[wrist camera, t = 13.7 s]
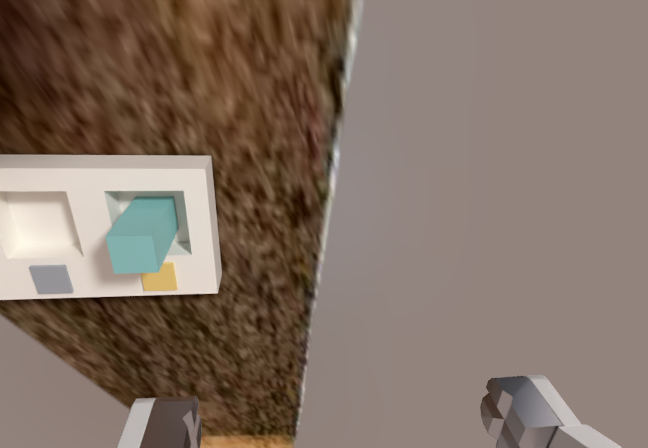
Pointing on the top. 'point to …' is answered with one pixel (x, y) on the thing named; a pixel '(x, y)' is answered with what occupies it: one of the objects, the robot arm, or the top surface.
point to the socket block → (101, 225)
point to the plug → (143, 235)
